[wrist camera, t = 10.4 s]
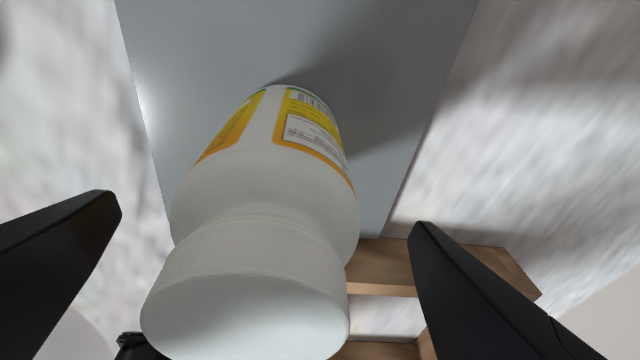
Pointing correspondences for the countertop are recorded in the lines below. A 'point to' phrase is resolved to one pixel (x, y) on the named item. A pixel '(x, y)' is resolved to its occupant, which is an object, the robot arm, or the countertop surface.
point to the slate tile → (294, 76)
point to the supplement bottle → (260, 239)
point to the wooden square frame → (410, 290)
